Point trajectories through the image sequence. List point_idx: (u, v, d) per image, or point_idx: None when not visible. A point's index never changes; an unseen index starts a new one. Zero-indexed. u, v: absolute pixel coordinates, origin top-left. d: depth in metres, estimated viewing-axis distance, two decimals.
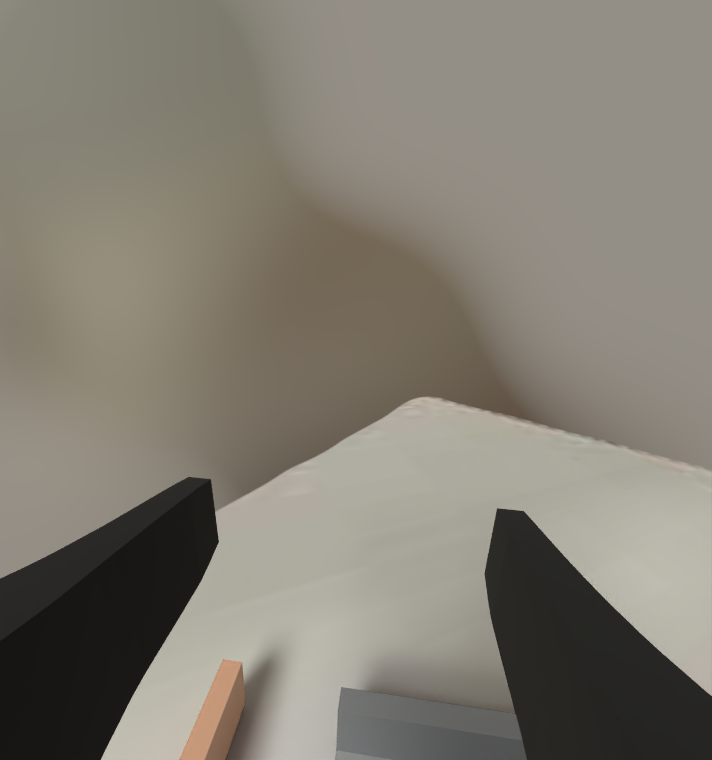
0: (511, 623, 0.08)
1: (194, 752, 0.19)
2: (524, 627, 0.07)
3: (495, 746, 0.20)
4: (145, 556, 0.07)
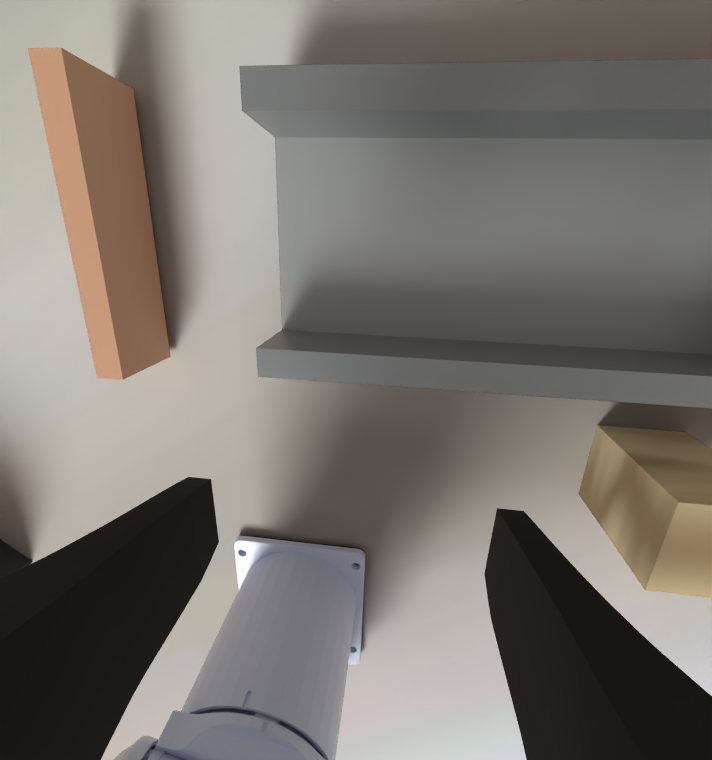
0: (511, 623, 0.08)
1: (73, 196, 0.14)
2: (524, 627, 0.07)
3: (502, 118, 0.12)
4: (145, 556, 0.07)
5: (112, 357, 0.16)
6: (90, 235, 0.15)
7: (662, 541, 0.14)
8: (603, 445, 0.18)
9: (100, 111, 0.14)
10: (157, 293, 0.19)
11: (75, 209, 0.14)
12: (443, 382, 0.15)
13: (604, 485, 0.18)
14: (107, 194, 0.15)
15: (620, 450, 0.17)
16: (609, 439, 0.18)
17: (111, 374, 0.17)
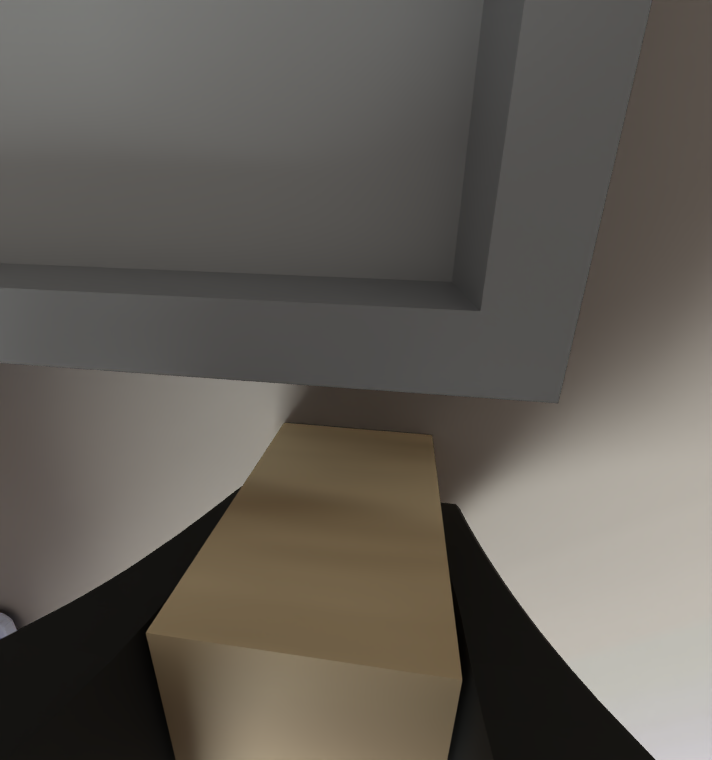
0: None
1: None
2: None
3: None
4: None
5: None
6: None
7: (167, 713, 0.06)
8: None
9: None
10: None
11: None
12: None
13: None
14: None
15: (253, 473, 0.08)
16: (268, 450, 0.09)
17: None
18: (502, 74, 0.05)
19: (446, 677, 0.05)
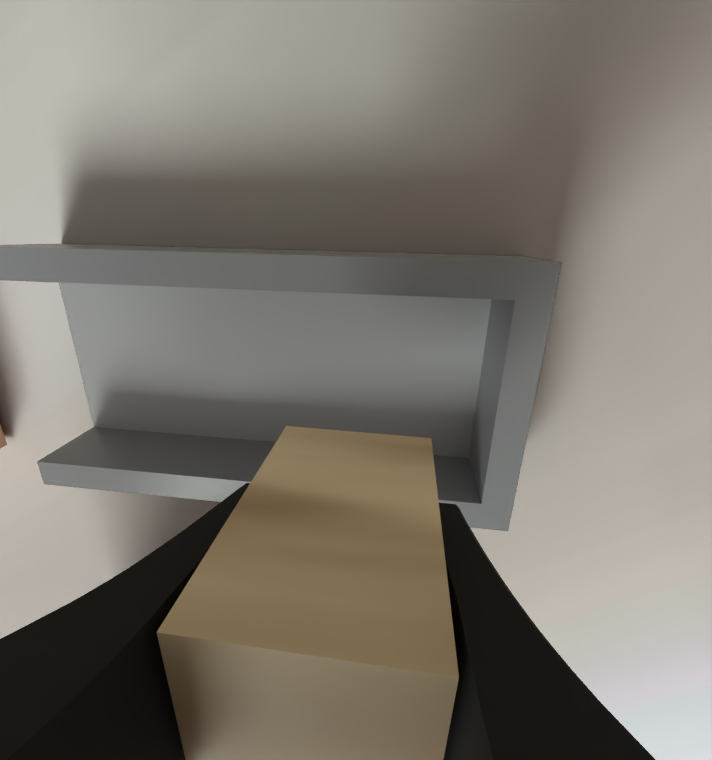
0: None
1: None
2: None
3: None
4: None
5: None
6: None
7: (176, 707, 0.06)
8: None
9: None
10: None
11: None
12: (195, 493, 0.17)
13: None
14: None
15: (257, 476, 0.09)
16: (271, 454, 0.10)
17: None
18: (487, 435, 0.15)
19: (443, 674, 0.05)
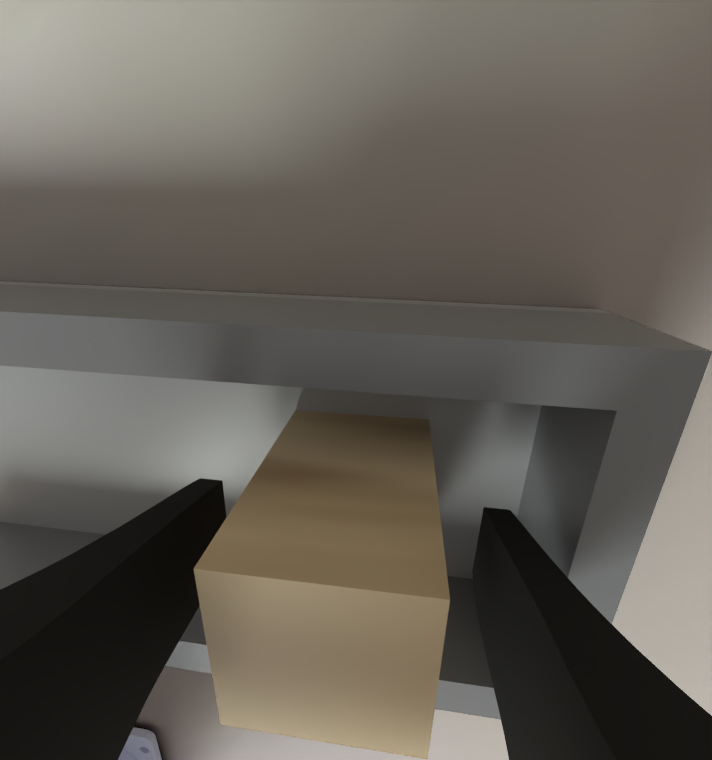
0: (495, 621, 0.08)
1: None
2: (507, 625, 0.07)
3: None
4: (160, 558, 0.07)
5: None
6: None
7: (208, 641, 0.07)
8: None
9: None
10: None
11: None
12: None
13: None
14: None
15: (271, 451, 0.10)
16: (283, 433, 0.11)
17: None
18: None
19: (437, 598, 0.06)
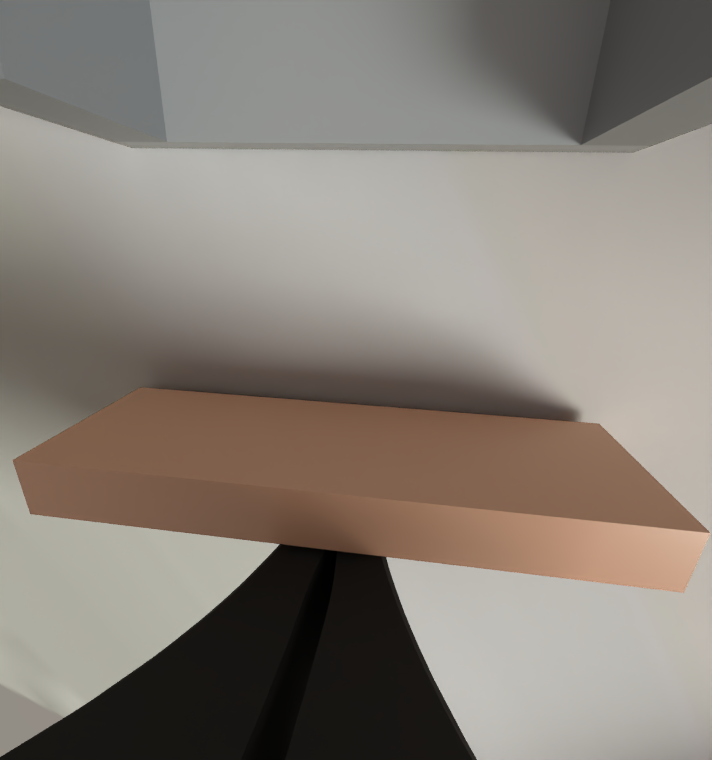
0: None
1: (252, 515, 0.07)
2: None
3: None
4: (322, 579, 0.07)
5: (634, 540, 0.06)
6: (327, 505, 0.06)
7: None
8: None
9: (135, 430, 0.08)
10: (460, 418, 0.09)
11: (276, 518, 0.07)
12: None
13: None
14: (259, 453, 0.07)
15: None
16: None
17: (684, 556, 0.06)
18: None
19: None
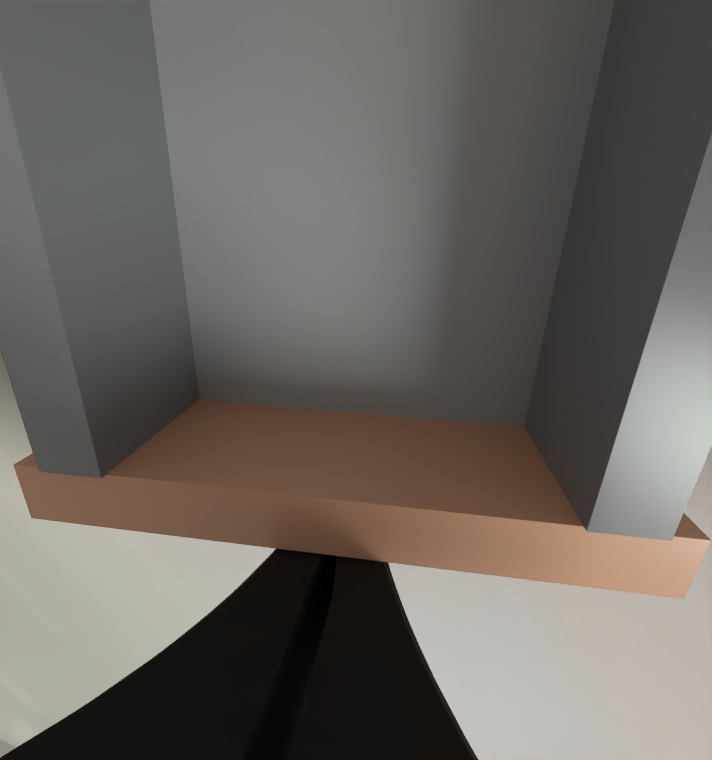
0: None
1: (252, 520, 0.07)
2: None
3: None
4: (322, 579, 0.07)
5: (635, 547, 0.06)
6: (327, 511, 0.06)
7: None
8: None
9: None
10: (461, 422, 0.09)
11: (277, 523, 0.07)
12: None
13: None
14: (261, 457, 0.07)
15: None
16: None
17: (685, 563, 0.06)
18: None
19: None
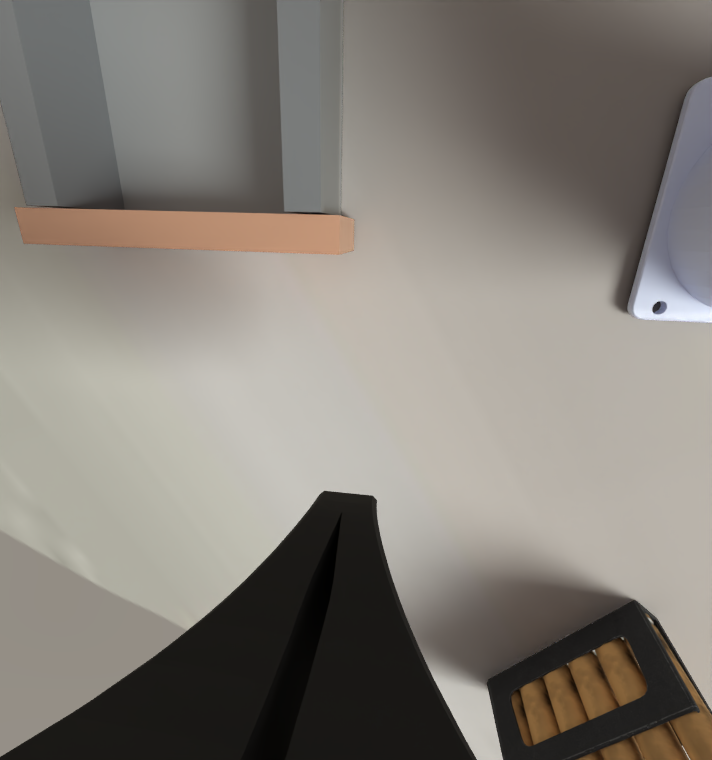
0: None
1: (135, 230, 0.13)
2: None
3: None
4: (322, 578, 0.07)
5: (310, 224, 0.13)
6: (170, 218, 0.13)
7: None
8: None
9: None
10: None
11: (147, 230, 0.13)
12: None
13: None
14: None
15: None
16: None
17: (334, 231, 0.13)
18: None
19: None
